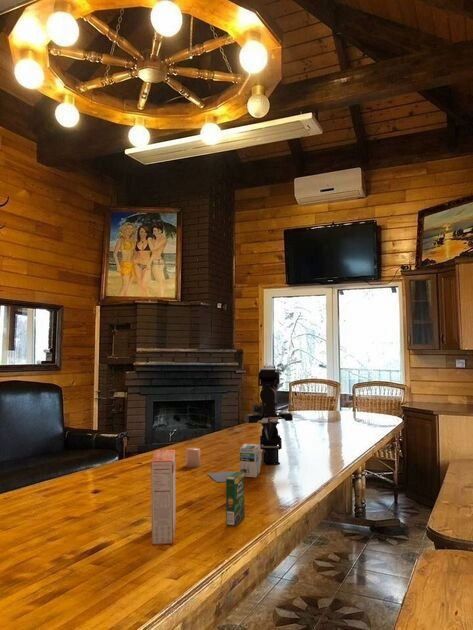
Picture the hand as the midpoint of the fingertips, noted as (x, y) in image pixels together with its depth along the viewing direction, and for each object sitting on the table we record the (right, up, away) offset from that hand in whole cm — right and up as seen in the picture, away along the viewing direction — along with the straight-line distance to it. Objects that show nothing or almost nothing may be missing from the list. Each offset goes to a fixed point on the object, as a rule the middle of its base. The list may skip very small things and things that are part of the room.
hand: (268, 439), depth 194 cm
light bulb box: (-8, -13, -4) cm, 15 cm away
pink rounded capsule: (-31, -14, +11) cm, 36 cm away
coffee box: (-13, -9, -56) cm, 58 cm away
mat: (-17, -13, -7) cm, 22 cm away
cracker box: (-32, -9, -65) cm, 73 cm away
